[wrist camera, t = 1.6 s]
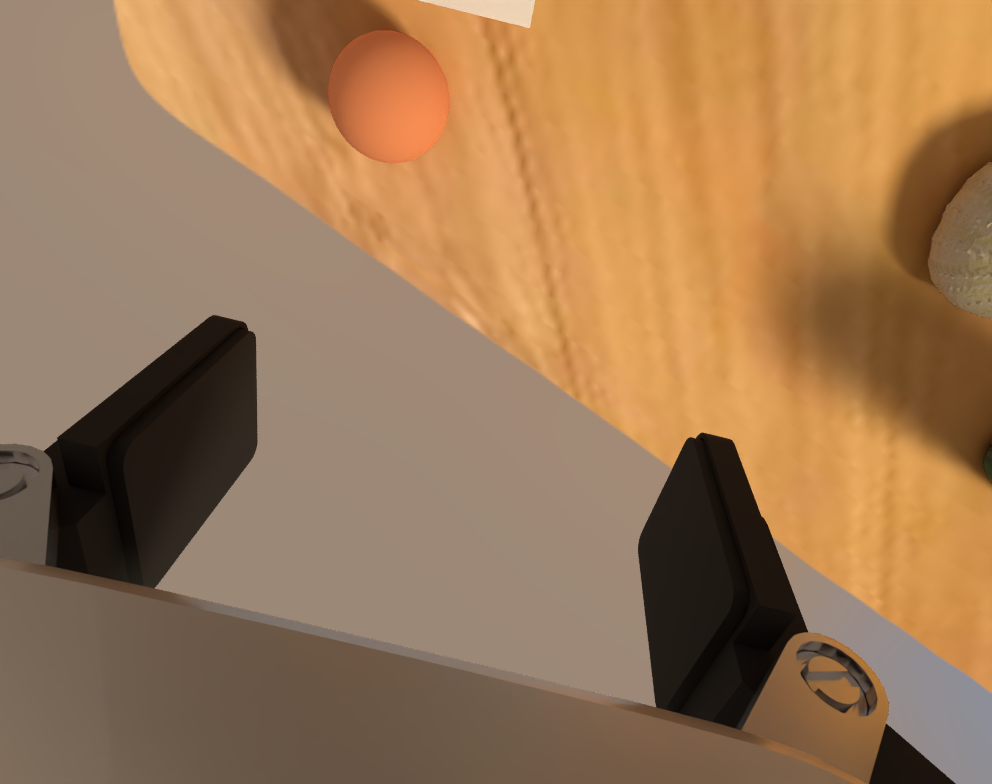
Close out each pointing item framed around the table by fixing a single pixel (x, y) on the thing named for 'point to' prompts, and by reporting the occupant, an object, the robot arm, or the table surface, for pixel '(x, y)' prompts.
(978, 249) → the sea urchin shell
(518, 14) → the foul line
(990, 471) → the coffee jar
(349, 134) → the ball
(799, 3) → the table surface
